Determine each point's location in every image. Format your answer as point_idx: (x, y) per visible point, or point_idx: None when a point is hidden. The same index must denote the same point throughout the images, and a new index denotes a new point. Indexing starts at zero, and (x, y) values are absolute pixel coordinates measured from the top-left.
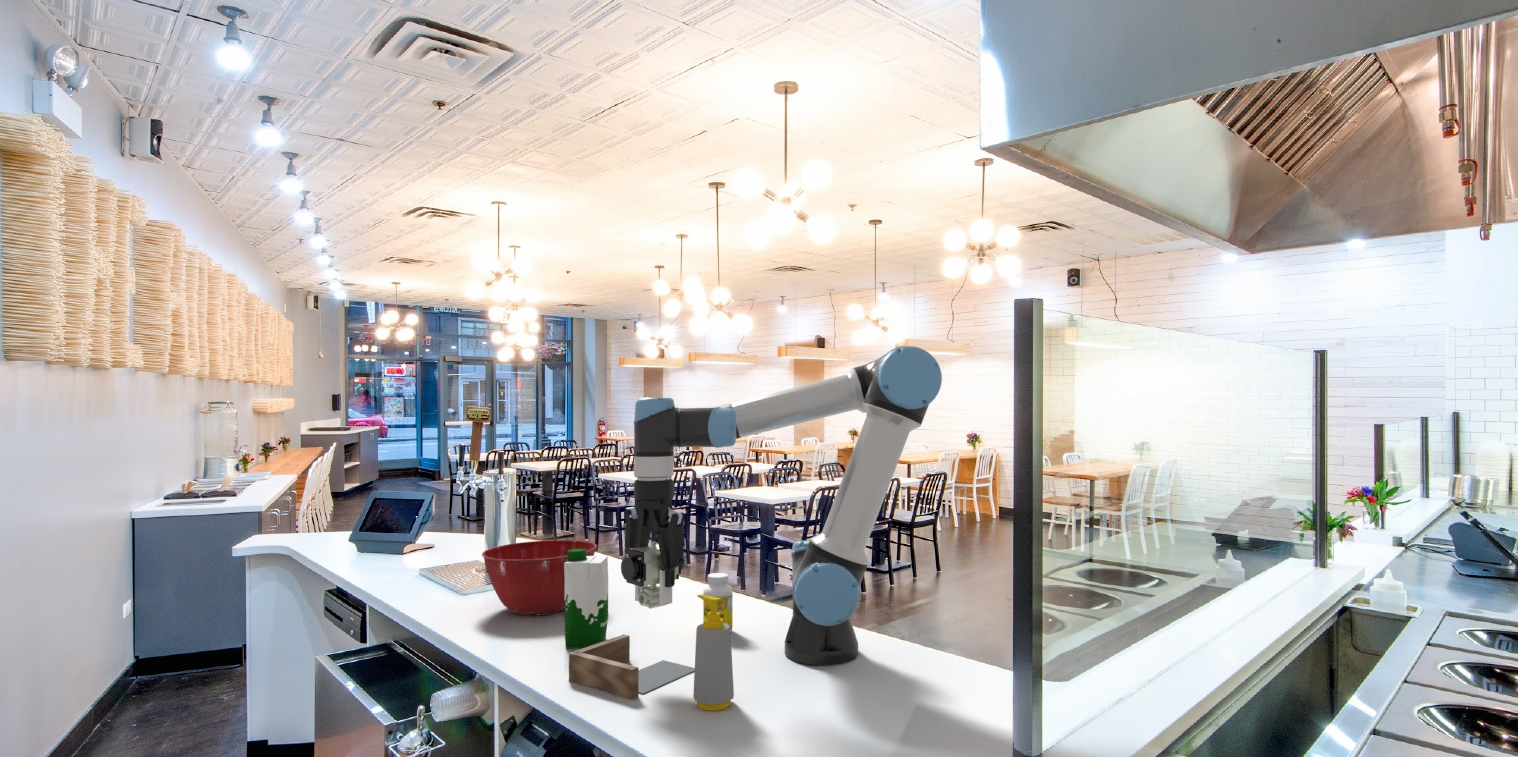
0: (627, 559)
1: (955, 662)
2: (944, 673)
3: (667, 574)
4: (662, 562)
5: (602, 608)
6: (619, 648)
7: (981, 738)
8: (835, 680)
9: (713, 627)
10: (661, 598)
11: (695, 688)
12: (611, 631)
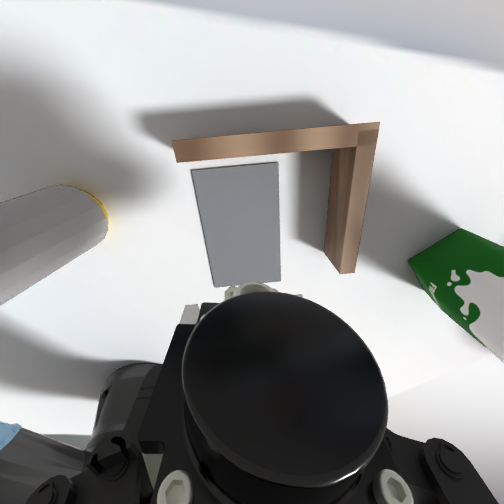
0: (300, 442)
1: (45, 429)
2: (22, 411)
3: (141, 420)
4: (129, 497)
5: (458, 307)
6: (335, 243)
7: None
8: (67, 351)
9: None
10: (184, 321)
11: (60, 192)
12: (432, 310)
